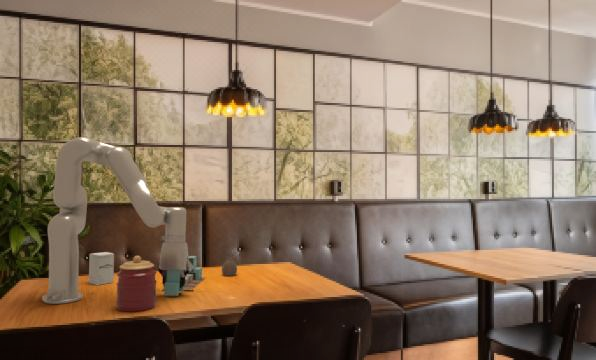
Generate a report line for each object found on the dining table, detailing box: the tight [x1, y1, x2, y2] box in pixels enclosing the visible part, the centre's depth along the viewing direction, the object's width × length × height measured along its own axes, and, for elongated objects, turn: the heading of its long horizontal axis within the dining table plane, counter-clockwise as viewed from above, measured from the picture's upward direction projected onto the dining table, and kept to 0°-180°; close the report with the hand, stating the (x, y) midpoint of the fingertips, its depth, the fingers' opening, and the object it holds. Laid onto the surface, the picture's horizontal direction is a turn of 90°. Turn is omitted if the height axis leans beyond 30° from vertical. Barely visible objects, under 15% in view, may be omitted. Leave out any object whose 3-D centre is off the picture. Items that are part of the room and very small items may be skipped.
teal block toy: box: [163, 270, 185, 297], centre depth 168 cm, size 8×6×10 cm
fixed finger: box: [185, 255, 203, 280], centre depth 193 cm, size 8×6×10 cm
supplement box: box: [88, 251, 115, 286], centre depth 188 cm, size 7×7×13 cm
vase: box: [221, 257, 238, 277], centre depth 202 cm, size 7×7×9 cm
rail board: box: [162, 273, 207, 293], centre depth 185 cm, size 22×12×4 cm, turn 177°
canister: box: [115, 255, 158, 312], centre depth 152 cm, size 13×13×18 cm
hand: (173, 286), depth 168 cm, fingers closed on teal block toy, 5 cm apart
